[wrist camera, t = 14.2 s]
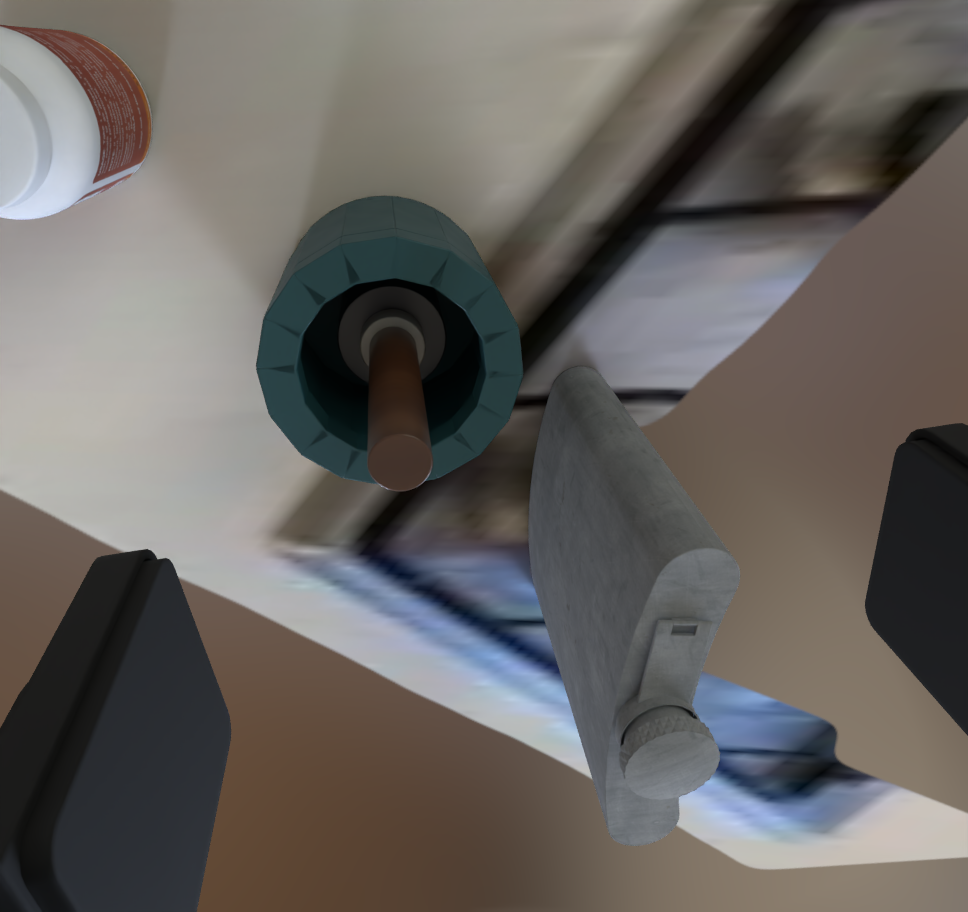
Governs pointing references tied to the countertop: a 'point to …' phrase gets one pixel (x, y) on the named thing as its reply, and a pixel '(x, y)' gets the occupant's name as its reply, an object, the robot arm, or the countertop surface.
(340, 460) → the jar
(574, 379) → the hip flask
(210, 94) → the countertop surface
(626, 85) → the countertop surface
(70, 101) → the pill bottle
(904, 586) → the robot arm
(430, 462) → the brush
